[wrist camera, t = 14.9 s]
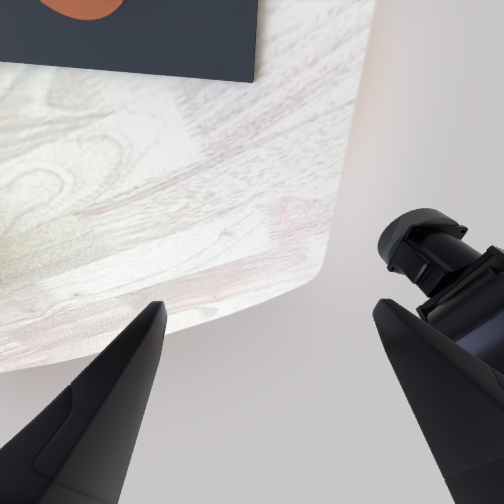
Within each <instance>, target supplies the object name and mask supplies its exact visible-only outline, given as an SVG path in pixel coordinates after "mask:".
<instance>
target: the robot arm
mask: <svg viewBox="0 0 504 504" xmlns="http://www.w3.org/2000/svg"><path fill="white" fill-rule="evenodd" d="M467 231H468V228H467V227H465V226H463V225H439V224H412V225H410V226H409V227H408V229H407V231H406V233H405V235H404V237H403V238H402V240H401V242H400V244H399V246H398V248H397V250H396V251H395V253H394V255H393V257H392V259H391V261H390V262H389V264H388V266H387V269H388V271H390V272H403V273H404V274H405V275H406V276H407V277H408V279H409V280H410V281H411V282H412V283H413V284H416V285H417V286H418V287H419V288H420V290H421V291H422V292H423V293H424V294H425V295H426V296H427V297H428V298H430V299H429V300H427V301H426V302H425V303H424V304H423V305H420V306H419V307H418V308H416V310H417V312H418V314H419V316H420V318H421V319H420V318H418V317H417V316H415V315H414V314H412V313H411V312H409V311H408V310H407V309H405V308H404V307H402V306H401V305H399V304H398V303H396V302H395V301H393V300H392V299H380V300H379V301H378V303H377V305H376V306H375V308H374V310H373V318H374V321H375V324H376V327H377V330H378V333H379V336H380V338H381V341H382V344H383V347H384V349H385V352H386V354H387V357H388V359H389V361H390V363H391V365H392V367H393V370H394V372H395V374H396V376H397V378H398V380H399V382H400V385H401V387H402V389H403V391H404V393H405V396H406V398H407V400H408V402H409V404H410V406H411V408H412V411H413V413H414V415H415V417H416V419H417V422H418V424H419V426H420V428H421V430H422V432H423V435H424V437H425V439H426V441H427V443H428V445H429V447H430V450H431V452H432V454H433V456H434V458H435V461H436V463H437V465H438V467H439V469H440V471H441V473H442V476H443V478H444V479H445V483H446V485H447V487H448V489H449V491H450V493H451V496H452V498H453V500H454V502H455V504H504V250H502V249H500V248H498V247H495V246H493V245H492V246H490V247H489V248H488V249H487V251H486V252H485V253H484V254H483V255H482V254H480V253H479V252H477V251H476V250H474V249H473V248H471V247H470V246H468V245H467V244H465V243H464V242H463V241H461V239H462V238H463V236H464V235H465V234H466V232H467ZM166 322H167V312H166V309H165V305H164V302H163V301H153V302H151V303H150V304H149V305H148V306H147V307H146V308H145V309H144V310H143V311H142V312H141V313H140V314H139V315H138V316H137V317H136V318H135V319H134V320H133V321H132V322H131V323H130V324H129V325H128V326H127V327H126V328H125V329H124V330H123V331H122V332H121V333H120V334H119V335H118V336H117V337H116V338H115V339H114V340H113V341H112V342H111V343H110V344H109V345H108V346H107V347H106V348H105V349H104V350H103V351H102V352H101V353H100V354H99V355H98V356H97V357H96V358H95V359H94V360H93V361H92V362H91V363H90V364H89V365H88V366H87V367H86V368H85V369H84V370H83V371H82V372H81V373H80V374H79V375H78V376H77V377H76V378H75V379H74V380H73V381H72V382H71V385H68V386H67V387H66V388H65V389H64V390H63V391H62V392H61V393H60V394H59V395H58V396H57V397H56V398H55V399H54V400H53V401H52V402H51V403H50V404H49V405H48V406H47V407H46V408H45V409H44V410H43V411H42V412H41V413H40V414H38V415H37V416H36V417H35V418H34V419H33V420H32V421H31V422H30V423H29V424H28V425H26V426H25V427H24V428H23V429H22V430H21V431H20V432H19V433H18V434H17V435H16V436H14V437H13V438H12V439H11V440H10V441H9V442H8V443H6V444H5V445H4V446H3V447H2V448H1V449H0V504H118V500H119V497H120V494H121V490H122V487H123V483H124V480H125V477H126V473H127V470H128V467H129V463H130V460H131V456H132V452H133V449H134V446H135V443H136V439H137V436H138V432H139V429H140V426H141V422H142V419H143V415H144V412H145V409H146V405H147V401H148V398H149V395H150V391H151V388H152V385H153V381H154V378H155V374H156V371H157V367H158V364H159V360H160V356H161V351H162V345H163V340H164V334H165V328H166Z"/></svg>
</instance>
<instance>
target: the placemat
mask: <svg viewBox="0 0 504 504" xmlns="http://www.w3.org/2000/svg"><path fill="white" fill-rule="evenodd" d="M257 8H258V0H0V61H1V62H13V63H25V64H36V65H48V66H60V67H72V68H83V69H95V70H107V71H119V72H130V73H142V74H154V75H166V76H177V77H189V78H201V79H213V80H224V81H236V82H248V83H253V80H254V62H255V44H256V26H257Z"/></svg>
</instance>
